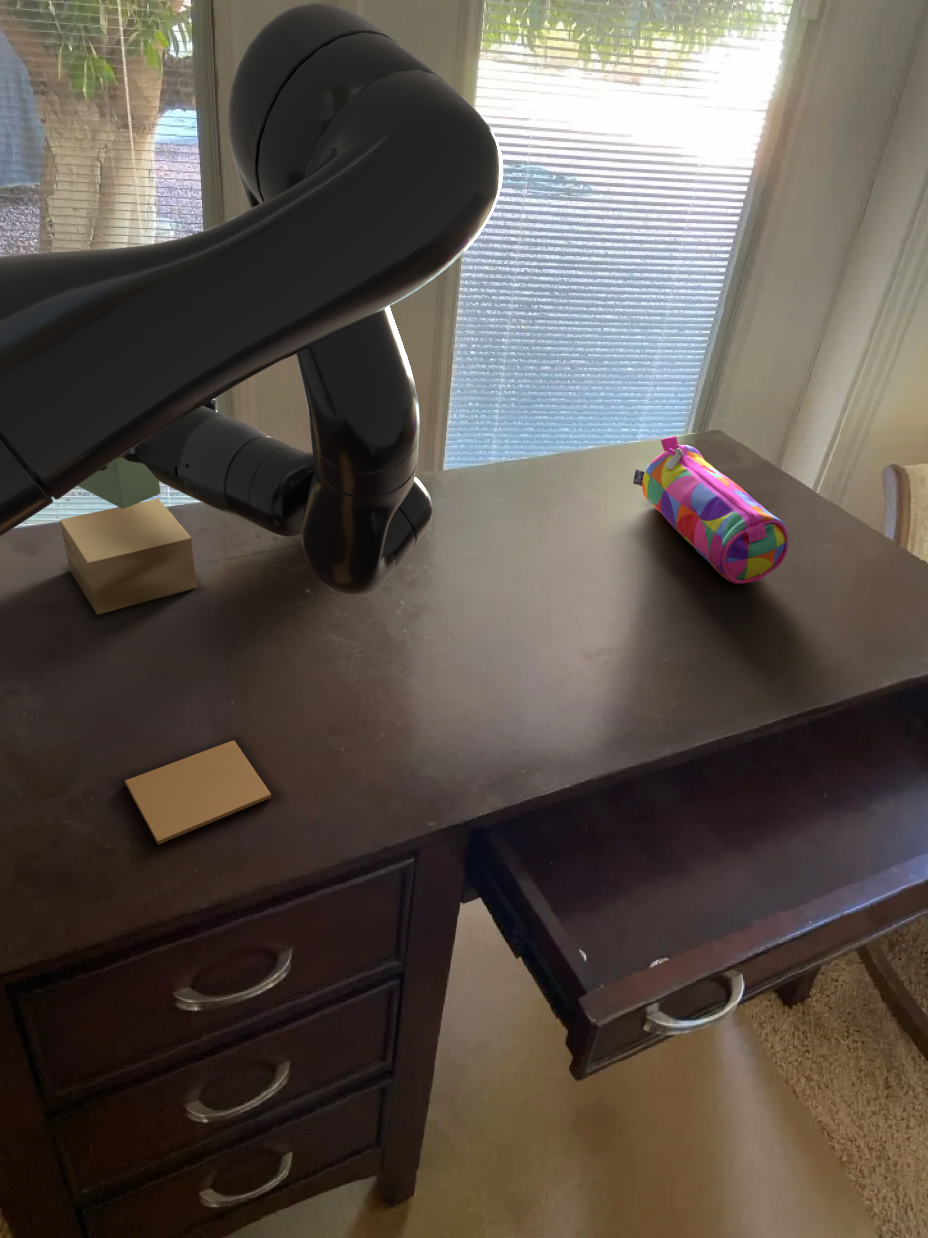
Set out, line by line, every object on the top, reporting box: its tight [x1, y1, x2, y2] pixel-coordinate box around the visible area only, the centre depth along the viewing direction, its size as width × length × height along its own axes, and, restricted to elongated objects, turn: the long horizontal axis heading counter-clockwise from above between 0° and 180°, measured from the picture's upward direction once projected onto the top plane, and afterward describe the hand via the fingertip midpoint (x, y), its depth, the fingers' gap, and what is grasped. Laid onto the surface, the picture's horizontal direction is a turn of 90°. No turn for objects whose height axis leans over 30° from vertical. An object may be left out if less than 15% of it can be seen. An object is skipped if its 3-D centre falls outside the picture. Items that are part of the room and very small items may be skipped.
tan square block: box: [59, 498, 197, 615], centre depth 90 cm, size 10×9×6 cm
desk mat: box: [124, 740, 272, 845], centre depth 69 cm, size 9×7×1 cm
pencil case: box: [632, 435, 789, 585], centre depth 106 cm, size 22×9×9 cm, turn 20°
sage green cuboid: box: [77, 457, 161, 509], centre depth 82 cm, size 4×7×10 cm, turn 56°
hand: (87, 401), depth 82 cm, fingers closed on sage green cuboid, 4 cm apart
